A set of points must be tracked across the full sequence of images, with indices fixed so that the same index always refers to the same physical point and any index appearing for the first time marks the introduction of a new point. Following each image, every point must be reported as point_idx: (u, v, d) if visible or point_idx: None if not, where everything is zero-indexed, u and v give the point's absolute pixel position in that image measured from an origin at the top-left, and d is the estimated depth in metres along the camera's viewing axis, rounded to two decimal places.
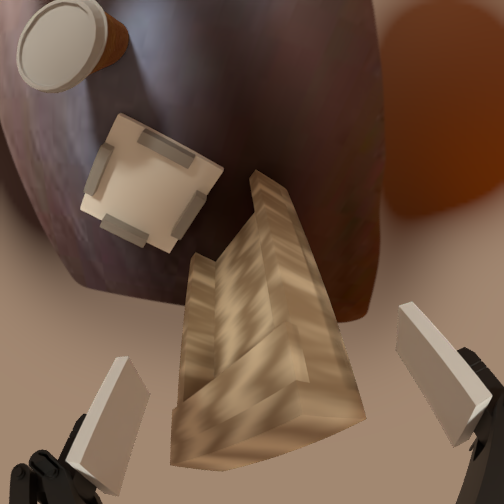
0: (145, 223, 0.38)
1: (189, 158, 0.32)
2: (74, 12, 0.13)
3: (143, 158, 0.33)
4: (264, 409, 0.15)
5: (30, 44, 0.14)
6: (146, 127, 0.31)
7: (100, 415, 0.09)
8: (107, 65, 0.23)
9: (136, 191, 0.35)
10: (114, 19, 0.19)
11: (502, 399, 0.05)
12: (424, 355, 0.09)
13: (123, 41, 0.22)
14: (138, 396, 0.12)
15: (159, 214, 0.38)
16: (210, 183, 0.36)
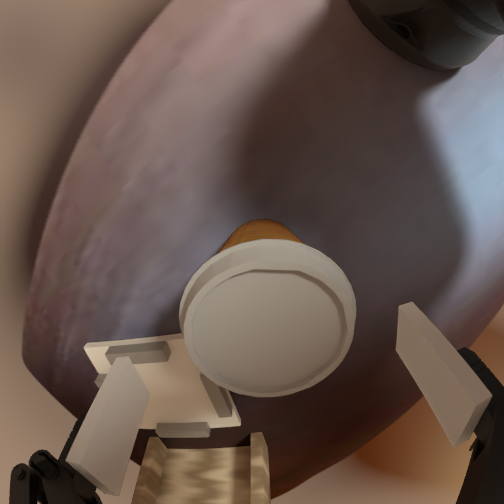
0: None
1: (229, 414, 0.29)
2: (331, 330, 0.14)
3: (188, 379, 0.29)
4: None
5: (242, 292, 0.13)
6: None
7: (100, 415, 0.09)
8: None
9: (154, 388, 0.30)
10: None
11: (502, 399, 0.05)
12: (424, 355, 0.09)
13: None
14: (138, 396, 0.12)
15: (157, 411, 0.31)
16: (222, 425, 0.32)
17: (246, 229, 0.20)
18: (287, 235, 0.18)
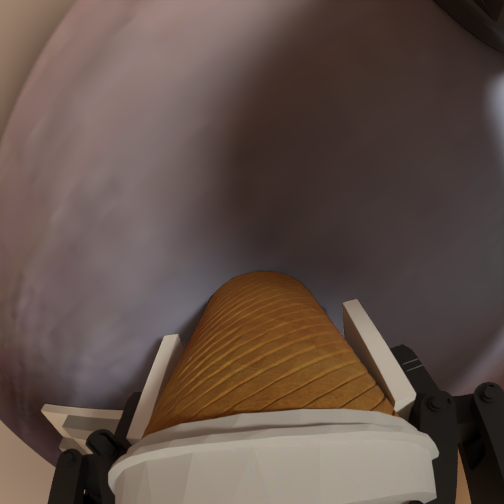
0: None
1: None
2: None
3: None
4: None
5: None
6: None
7: (159, 389, 0.10)
8: None
9: None
10: None
11: (426, 401, 0.07)
12: (361, 350, 0.11)
13: None
14: None
15: None
16: None
17: (234, 308, 0.11)
18: (316, 339, 0.08)
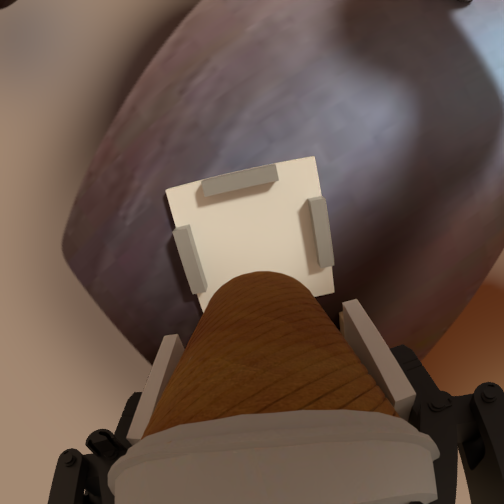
0: (217, 273, 0.31)
1: (332, 261, 0.29)
2: None
3: (290, 217, 0.29)
4: None
5: None
6: (320, 195, 0.29)
7: (159, 389, 0.10)
8: None
9: (246, 237, 0.30)
10: None
11: (426, 401, 0.07)
12: (361, 350, 0.11)
13: None
14: None
15: None
16: (314, 292, 0.32)
17: (234, 308, 0.11)
18: (317, 340, 0.08)
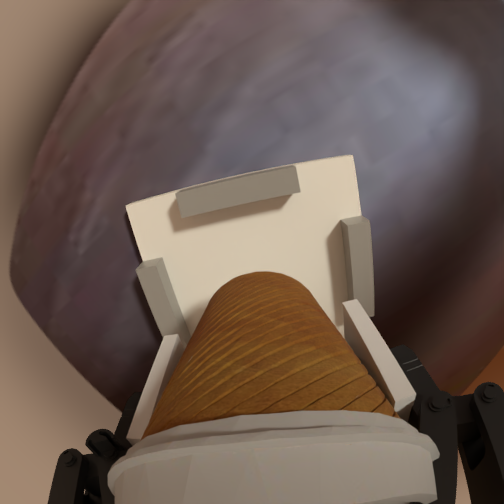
0: None
1: (371, 310, 0.19)
2: None
3: (313, 248, 0.19)
4: None
5: None
6: None
7: (159, 389, 0.10)
8: None
9: None
10: None
11: (426, 401, 0.07)
12: (361, 350, 0.11)
13: None
14: None
15: None
16: None
17: (234, 308, 0.11)
18: (316, 340, 0.08)
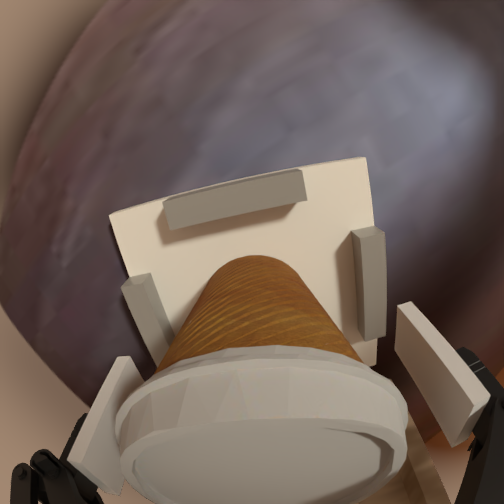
0: None
1: (383, 330, 0.17)
2: (365, 470, 0.07)
3: (321, 262, 0.17)
4: None
5: (211, 448, 0.06)
6: None
7: (101, 414, 0.09)
8: None
9: None
10: None
11: (500, 399, 0.05)
12: (423, 355, 0.10)
13: None
14: None
15: None
16: None
17: (228, 282, 0.13)
18: (296, 304, 0.10)
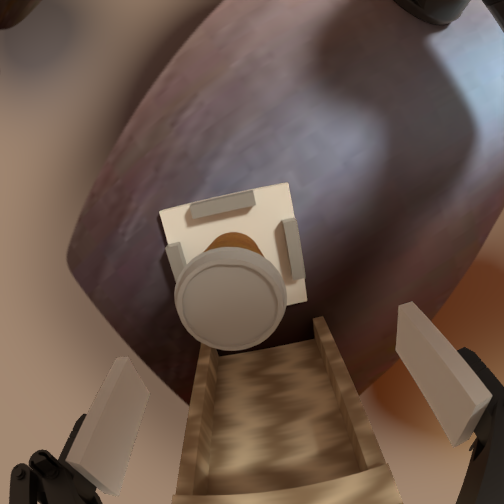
0: None
1: (303, 274, 0.34)
2: (268, 304, 0.23)
3: (266, 236, 0.34)
4: None
5: (211, 278, 0.23)
6: (293, 216, 0.33)
7: (100, 415, 0.09)
8: None
9: None
10: None
11: (502, 399, 0.05)
12: (424, 355, 0.09)
13: None
14: (138, 396, 0.12)
15: None
16: (289, 301, 0.36)
17: (219, 240, 0.29)
18: (244, 244, 0.27)
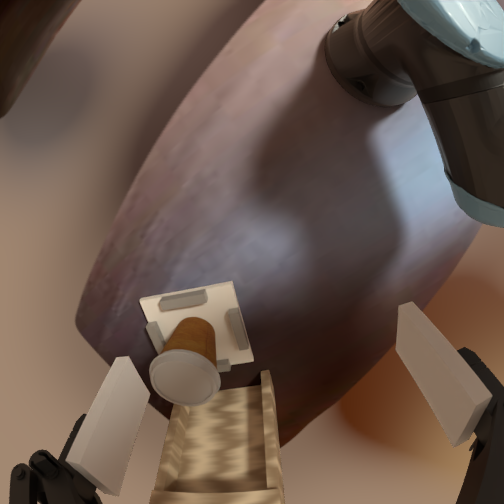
0: None
1: (246, 346, 0.44)
2: (206, 383, 0.34)
3: (218, 319, 0.44)
4: None
5: (169, 369, 0.33)
6: (238, 306, 0.44)
7: (100, 415, 0.09)
8: None
9: None
10: None
11: (502, 399, 0.05)
12: (424, 355, 0.09)
13: None
14: (138, 396, 0.12)
15: None
16: (239, 361, 0.47)
17: (180, 330, 0.40)
18: (194, 339, 0.37)
